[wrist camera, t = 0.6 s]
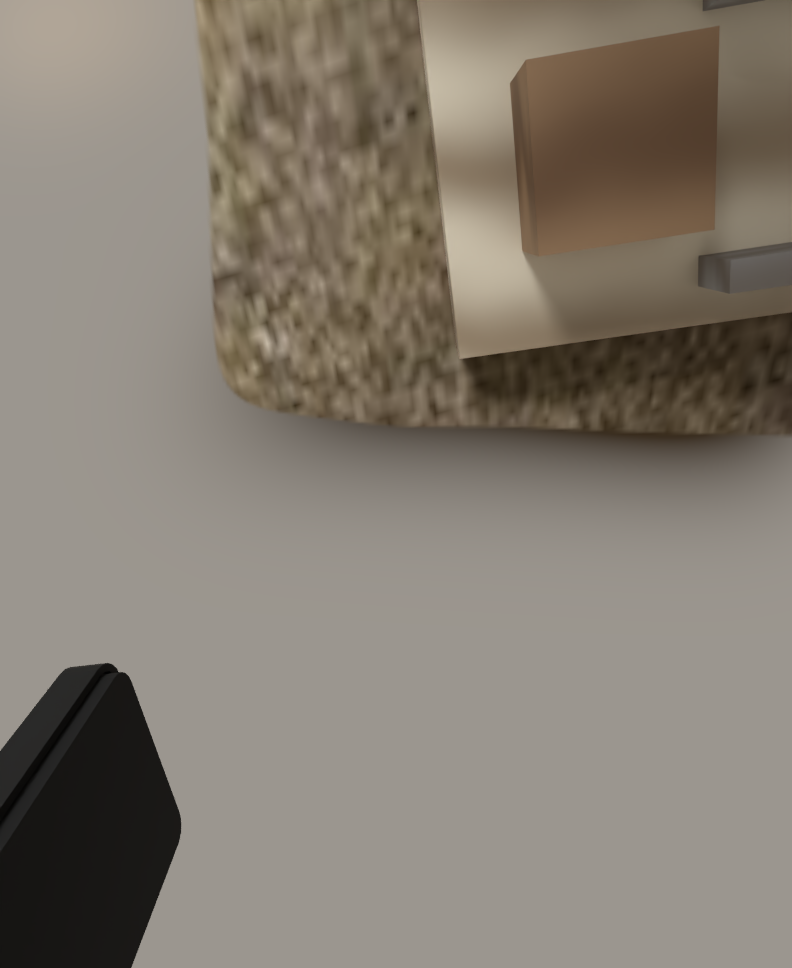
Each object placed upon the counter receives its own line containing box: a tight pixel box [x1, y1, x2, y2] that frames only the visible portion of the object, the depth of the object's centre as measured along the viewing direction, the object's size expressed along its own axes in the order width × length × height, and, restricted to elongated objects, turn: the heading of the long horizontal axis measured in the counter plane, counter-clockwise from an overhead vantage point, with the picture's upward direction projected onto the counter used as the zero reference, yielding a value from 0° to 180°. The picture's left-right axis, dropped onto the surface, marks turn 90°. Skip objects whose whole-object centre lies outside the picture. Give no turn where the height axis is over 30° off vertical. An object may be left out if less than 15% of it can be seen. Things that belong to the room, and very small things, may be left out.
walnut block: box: [510, 26, 720, 256], centre depth 24 cm, size 6×6×4 cm
